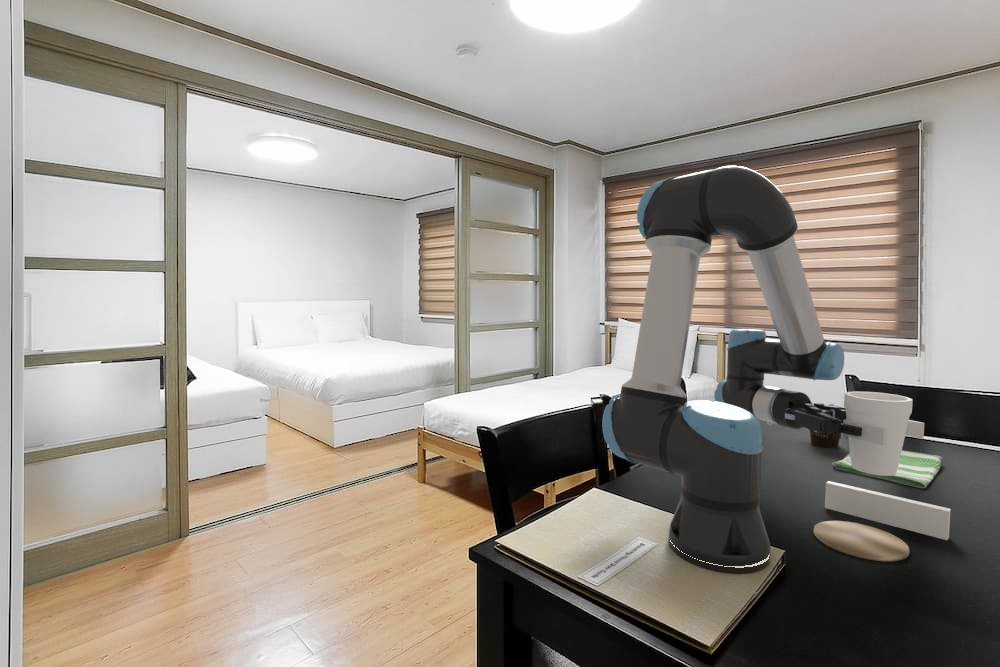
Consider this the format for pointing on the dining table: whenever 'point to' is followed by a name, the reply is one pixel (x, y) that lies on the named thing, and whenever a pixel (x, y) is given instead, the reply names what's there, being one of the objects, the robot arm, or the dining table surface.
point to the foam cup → (884, 414)
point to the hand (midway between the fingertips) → (904, 433)
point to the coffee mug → (823, 440)
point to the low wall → (889, 509)
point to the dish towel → (904, 469)
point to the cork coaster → (861, 541)
